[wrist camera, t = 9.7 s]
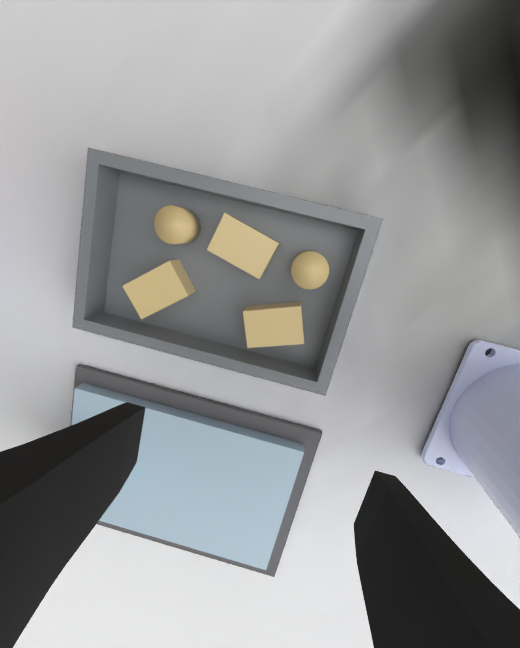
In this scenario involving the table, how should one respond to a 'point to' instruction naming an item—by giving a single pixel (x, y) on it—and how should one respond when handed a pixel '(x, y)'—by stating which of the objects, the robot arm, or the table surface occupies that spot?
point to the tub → (218, 270)
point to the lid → (200, 480)
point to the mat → (223, 414)
